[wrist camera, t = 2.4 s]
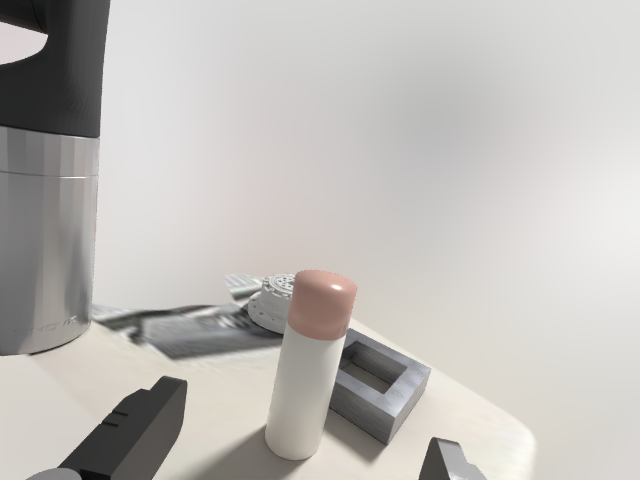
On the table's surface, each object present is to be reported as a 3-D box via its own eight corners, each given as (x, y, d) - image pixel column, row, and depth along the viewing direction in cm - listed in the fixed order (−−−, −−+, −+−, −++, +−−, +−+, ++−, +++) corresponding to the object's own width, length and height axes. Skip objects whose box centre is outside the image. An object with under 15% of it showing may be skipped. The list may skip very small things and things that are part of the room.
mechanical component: (240, 330, 37) (329, 344, 38) (246, 293, 36) (338, 308, 37) (253, 293, 47) (324, 305, 48) (258, 263, 46) (331, 276, 47)
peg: (252, 435, 24) (282, 276, 21) (288, 407, 27) (318, 266, 25) (297, 471, 22) (336, 301, 19) (330, 436, 25) (367, 286, 23)
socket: (294, 383, 30) (299, 359, 30) (345, 348, 38) (350, 328, 37) (386, 445, 26) (395, 417, 25) (424, 391, 33) (431, 368, 32)
